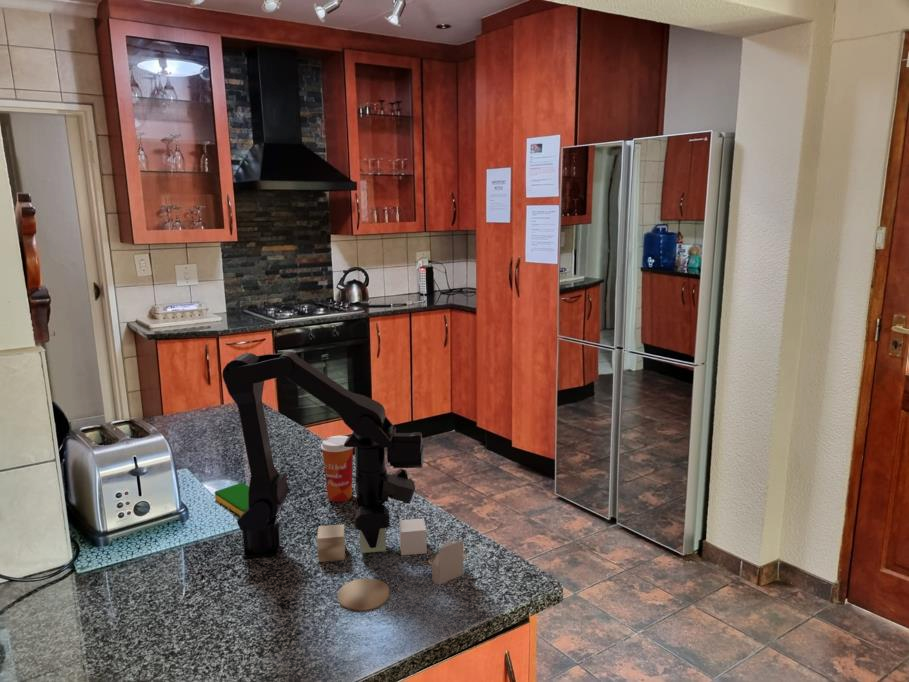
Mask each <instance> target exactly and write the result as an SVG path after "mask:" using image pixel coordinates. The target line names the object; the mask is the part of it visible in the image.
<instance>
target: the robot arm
mask: <svg viewBox="0 0 909 682" xmlns="http://www.w3.org/2000/svg"><path fill="white" fill-rule="evenodd" d="M277 378H285V379H287V380H288V381H290V382H291V383H293V384H294V385H296V386H297V387H299V388H301V390H303V391H305V392H307V393H308V394H310V395H311V396H312V397H314V398H315V399H317V400H318V401H320V402H322V403H323V405H325V406H327V407H328V408H330V409H331V410H333V411H334V412H335V413H336V414H337V415H338V417H339V418H340V419H341V420H342V422H343V423H344V424H345V425H346V426H347V427H348V428H349V429H350V430H351V431H352V433H351V435H349V436H347V437H348V438H347V440H346V442H345V443H344V446H345V447H354V459H355V460H354V462H355V464H354V465H355V481H354V484H355V486H354V487H355V494H356V498H355V501H356V505H357V509H356V510H355V519H354V520H355V529H356V530H357V531H359V530H361V531H362V533H363V535H364V537H365V539H366V541H367V543H368V545H369V546H370V548H375V547H376V544H377V540H378V535H379V531H380V529H382V528H386V529H387V528H390V527H391V526H390V525H391V524H390V511H389V510H390V509H389V508H388V507H387V506H386V505H384V503H385V502H389V498H390V499H392V500H395V501H399V502H402V503H403V504H407V505H409V504H411V502H412V500H413V496H414V493H415V491H416V485H415V481H413V479H412V478H410V477H408V476H409V475H408V472H407V469H423V468H424V467H423V466H424V460H425V459H424V457H425V455H424V453H425V452H424V451H425V450H424V449H425V448H424V447H425V445H424V444H423V443H424V442H423V434H422V432H421V431H418V432H417V431H414V432H396V430H397V428H396V427H395V426H394V424H393V423H392V422H391V421H390V419H388V417H387V415H386V409H385V406H383V405H382V404H381V403H380V402H379V401H377V400H375V399H372V398H370V397H368V396H366V395H364V394H360V393H355V392H353V391H350V390H348V389H346V387H344V386H342V385H341V384H339V383H338V382H336V381H335V380H333V379H332V378H330V377H328V376H327V375H326V374H324V373H323V372H322V371H321V370H318V369H317V368H315V367H314V366H312V365H311V364H310V363H308V362H306V361H305V360H304V359H302V358H300V356H298V354H297V353H295V352H294V351H286V352H282V353H265V354H260V355H256V354H254V353H251V352H244V353H241V354H240V355H238V356H237V357H236V358H234V359H232V360H230V361H229V362H227V364H226V365H225V366H224V368H223V369H222V379H223V382H224V384H225V388H226V390H227V393H228V395H229V397H231V399H232V400H233V402H234V403H235V404H236V407H237V409H238V415H239V421H240V426H241V430H242V436H243V441H244V447H245V452H246V457H247V462H248V466H249V467H248V468H249V471H250V472H249V473H250V479H249V485H248V486H249V491H248V507H247V509H246V510H245V511H244V513H243V514H242V515H241V516H239V518H238V519H237V521H236V523H237V525H238V527H239V530H240V531H241V532H242V542H243V551H242V555H241V556H242V558H243V559H246V558H247V559H249V558H250V559H251V558H261V557H272V556H276V555H277V553H278V550H279V549H280V547H281V543H282V533H281V532H282V531H281V524H280V522H278V518H277V515H278V513H279V511H280V509H282V507H283V505H284V504H285V502H286V500H287V498H288V494H289V492H290V491H291V488H290V487H289V485H288V482H287V480H288V479H287V473H286V472H283V473H282V472H281V473H279V471H278V470H277V469H276V467H275V464H274V459H273V458H274V457H273V454H272V448H271V443H270V442H271V441H270V437H269V431H268V425H267V421H266V415H265V411H264V405H263V392H264V386H265V381H270V380H274V379H277ZM386 460H387V463H389V466H390V467H392V468H393V469H398V470H397V471H396V472H395V473H392V474H389V473H388V470H387V467H386Z"/></svg>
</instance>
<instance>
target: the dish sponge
mask: <svg viewBox="0 0 909 682" xmlns="http://www.w3.org/2000/svg"><path fill="white" fill-rule="evenodd" d="M248 491H249V485H247V484H245V483H244V482H239V483H237V484H234V485H229V486H227V487H225V488H221V489H219V490H215V491H214V498H215V499H214V500H215V501H217V502H218V503H220V504H222V505H223V506H224V507H226V508H228V509H229V510H231V511H232V512H234V513H236V515H238V516H239V517H241V515H242V514H243V513H244V511H245V510H246V509H247V507H248Z"/></svg>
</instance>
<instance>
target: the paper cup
mask: <svg viewBox="0 0 909 682" xmlns="http://www.w3.org/2000/svg"><path fill="white" fill-rule="evenodd" d="M348 437H349V436H347V435H333V436H328V437H326V438H325V439H323V440H322V443H321V445H320V449H321V451H322V459H323V467H324V468H323V469H324V479H325V487H326V488H325V489H326V494H327V495H326V496H327V499H328V501H331V502H334V503H340V502H346V501H348V500H350V499H351V498H352V496H353V494H352V493H353V492H352V491H353V467H354V465H353V463H354V462H353V461H354V459H353V458H354V456H353V455H354V449H355V447H345V446H344V443H345V442H346V440H347V438H348Z"/></svg>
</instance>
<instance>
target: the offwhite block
mask: <svg viewBox="0 0 909 682" xmlns="http://www.w3.org/2000/svg"><path fill="white" fill-rule="evenodd" d="M398 522H399V523H398V524H399V525H398V528H399V548H400V554H401V556H409V555H419V554H422V555H424V554H427V553H428V552H427V551H428V549H427V545H428V544H427V527H426V523H425V518H423V517H422V518H412V519H411V518H410V519H401V520H399V521H398Z"/></svg>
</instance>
